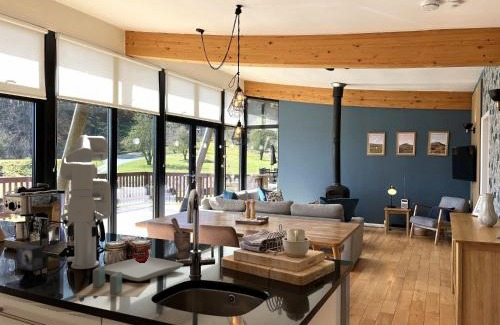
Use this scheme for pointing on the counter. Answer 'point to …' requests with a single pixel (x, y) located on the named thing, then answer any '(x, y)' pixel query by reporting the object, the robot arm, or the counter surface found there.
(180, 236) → the mortar and pestle
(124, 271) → the square plate
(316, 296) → the counter surface
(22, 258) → the small box
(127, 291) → the cork mat
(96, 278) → the tile
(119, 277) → the tile
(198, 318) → the counter surface
